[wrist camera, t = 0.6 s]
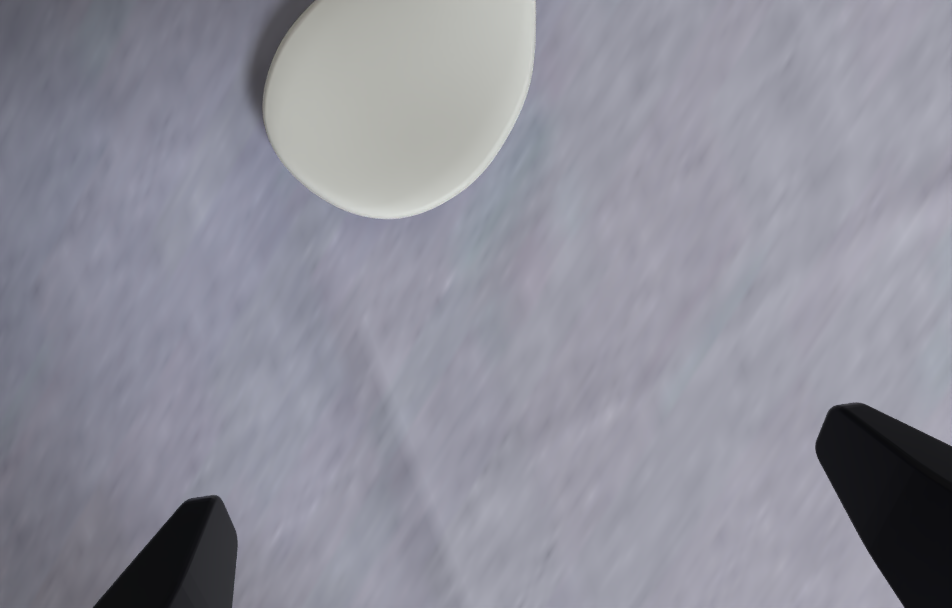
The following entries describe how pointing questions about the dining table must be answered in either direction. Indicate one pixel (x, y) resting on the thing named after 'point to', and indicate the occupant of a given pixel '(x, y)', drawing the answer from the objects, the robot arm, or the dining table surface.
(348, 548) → the dining table surface
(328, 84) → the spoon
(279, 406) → the dining table surface
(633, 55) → the dining table surface
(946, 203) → the dining table surface
